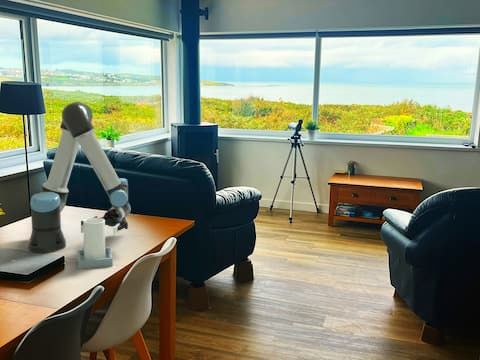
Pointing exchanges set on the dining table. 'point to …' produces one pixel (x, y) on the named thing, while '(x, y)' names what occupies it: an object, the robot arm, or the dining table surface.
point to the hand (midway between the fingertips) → (98, 230)
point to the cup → (94, 238)
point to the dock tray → (95, 260)
